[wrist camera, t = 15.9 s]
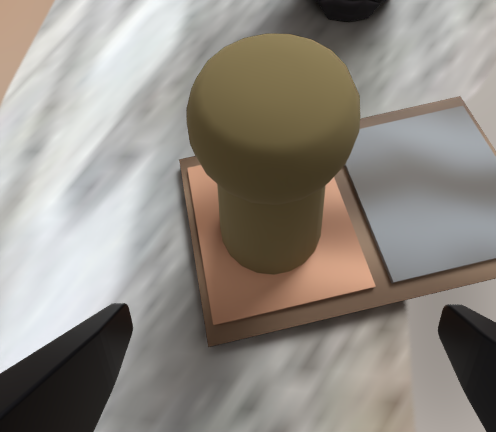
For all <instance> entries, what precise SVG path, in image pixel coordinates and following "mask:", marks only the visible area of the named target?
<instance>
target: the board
mask: <svg viewBox="0 0 496 432" xmlns="http://www.w3.org/2000/svg"><path fill="white" fill-rule="evenodd" d="M179 161H180V167H181V174H182V180H183V187H184V193H185V200H186V206H187V213H188V219H189V226H190V232H191V238H192V245H193V251H194V258H195V264H196V271H197V277H198V284H199V290H200V296H201V303H202V309H203V316H204V322H205V329H206V335H207V342H208V347H211V346H215V345H219V344H223V343H228V342H232V341H236V340H240V339H244V338H249V337H253V336H257V335H261V334H265V333H269V332H274V331H278V330H282V329H286V328H290V327H295V326H299V325H303V324H307V323H311V322H315V321H320V320H324V319H328V318H332V317H336V316H341V315H345V314H349V313H353V312H357V311H362V310H366V309H370V308H374V307H378V306H382V305H387V304H391V303H395V302H399V301H403V300H408V299H412V298H416V297H420V296H424V295H428V294H433V293H437V292H441V291H445V290H449V289H453V288H458V287H462V286H466V285H470V284H474V283H478V282H483V281H487V280H491V279H495V278H496V151H495V149H494V148H493V146H492V145H491V143H490V142H489V140H488V138H487V137H486V135H485V134H484V132H483V131H482V129H481V128H480V126H479V124H478V123H477V121H476V120H475V119H474V117H473V115H472V114H471V112H470V111H469V109H468V107H467V106H466V104H465V103H464V101H463V100H462V98H461V97H460V96H459V97H455V98H450V99H446V100H441V101H437V102H432V103H428V104H424V105H419V106H415V107H410V108H406V109H401V110H397V111H392V112H388V113H384V114H379V115H375V116H370V117H366V118H361V119H360V129H359V133H358V136H357V139H356V141H355V144H354V146H353V149H352V151H351V154H350V156H349V158H348V160H347V162H346V164H345V165H344V166H343V168H342V169H341V170H340V171H339V172H338V173H337V174H336V175H335V176H334V177H333V179H332V180H331V181H330V182H329V183H328V184H327V185H326V187H325V197H324V207H323V218H322V228H321V237H320V239H319V242H318V244H317V247H316V250H315V251H314V253H313V254H312V255H311V256H310V257H309V258H308V260H307V261H306V262H305V263H303V264H302V265H300V266H298V267H297V268H295V269H293V270H292V271H289V272H284V273H279V274H275V275H272V274H263V273H256V272H254V271H252V270H250V269H247V268H245V267H243V266H241V265H240V264H239V263H238V262H237V261H236V260H235V259H234V258H233V257H231V256H230V254H229V252H228V251H227V249H226V247H225V245H224V243H223V241H222V235H221V229H220V217H219V203H218V188H217V183H216V182H215V181H213V180H212V179H211V178H210V177H209V176H208V175H207V174H206V173H205V171H204V169H203V168H202V166H201V164H200V162H199V161H198V159H197V157H196V156H193V157H188V158H184V159H179Z"/></svg>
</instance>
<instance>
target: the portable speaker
mask: <svg viewBox="0 0 496 432" xmlns="http://www.w3.org/2000/svg"><path fill="white" fill-rule="evenodd" d="M316 1H317V3H318V4H319V5H320V7H321V8H322V10H323V11H324V13H325V15H326V16H327V18H328V19H333V20H341V21H354V20H360V19H365V18H368V17H369V16H370V15H371V14H372V13H373V12H374V11H375V10H376V8H377V7H378V6H379V5H381V4H382V3H383V2H384V1H386V0H316Z"/></svg>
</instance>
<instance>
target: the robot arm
mask: <svg viewBox="0 0 496 432" xmlns="http://www.w3.org/2000/svg"><path fill="white" fill-rule="evenodd" d="M132 331H133V324H132V320H131V315H130V311H129V307H128V305H127V304H125V303H113V304H111V305H109V306H107V307H106V308H104V309H103V310H101V311H99V312H98V313H96V314H95V315H93V316H91V317H90V318H88V319H87V320H85V321H84V322H82V323H80V324H79V325H77V326H76V327H74V328H72V329H71V330H69V331H68V332H66V333H64V334H63V335H61V336H60V337H58V338H56V339H55V340H53V341H52V342H50V343H48V344H47V345H45V346H44V347H42V348H40V349H39V350H37V351H36V352H34V353H32V354H31V355H29V356H28V357H26V358H24V359H23V360H21V361H20V362H18V363H16V364H15V365H13V366H12V367H10V368H8V369H7V370H5V371H4V372H2V373H0V432H94V430H95V427H96V425H97V423H98V421H99V419H100V416H101V414H102V412H103V410H104V408H105V405H106V403H107V401H108V399H109V396H110V394H111V392H112V390H113V387H114V385H115V382H116V380H117V377H118V374H119V371H120V368H121V365H122V362H123V359H124V356H125V353H126V350H127V347H128V344H129V341H130V338H131V335H132ZM438 334H439V337H440V340H441V342H442V344H443V346H444V349H445V351H446V353H447V355H448V358H449V360H450V362H451V364H452V366H453V369H454V371H455V373H456V375H457V377H458V380H459V382H460V384H461V386H462V388H463V390H464V392H465V394H466V396H467V398H468V400H469V402H470V403H471V405H472V407H473V409H474V410H475V412H476V414H477V416H478V417H479V419H480V421H481V423H482V425H483V426H484V428H485V430H486V432H496V322H493V321H492V320H490V319H488V318H486V317H484V316H482V315H480V314H478V313H476V312H475V311H473V310H471V309H469V308H467V307H465V306H463V305H445V306H444V308H443V310H442V314H441V318H440V322H439V326H438Z"/></svg>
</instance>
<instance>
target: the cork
mask: <svg viewBox="0 0 496 432" xmlns="http://www.w3.org/2000/svg"><path fill="white" fill-rule="evenodd" d="M187 127H188V133H189V140H190V145H191V147H192V149H193V151H194V154H195V156H196V157H197V159H198V161H199V162H200V164H201V166H202V168H203V169H204V171H205V173H206V174H207V175H208V176H209V177H210V178H211V179H212V180H213V181H215V182H216V183H217V188H218V203H219V217H220V229H221V235H222V241H223V243H224V245H225V247H226V249H227V251H228V252H229V254H230V256H231V257H233V258H234V259H235V260H236V261H237V262H238V263H239V264H240V265H241V266H243V267H245V268H247V269H250V270H252V271H254V272H256V273H263V274H272V275H275V274H279V273H284V272H289V271H292V270H293V269H295V268H297V267H298V266H300V265H302V264H303V263H305V262H306V261H307V260H308V258H309V257H310V256H311V255H312V254H313V253H314V251H315V250H316V247H317V244H318V242H319V239H320V237H321V228H322V218H323V207H324V197H325V187H326V185H327V184H328V183H329V182H330V181H331V180H332V179H333V177H334V176H335V175H336V174H337V173H338V172H339V171H340V170H341V169H342V168H343V166H344V165H345V164H346V162H347V160H348V158H349V156H350V154H351V151H352V149H353V146H354V144H355V141H356V139H357V136H358V133H359V129H360V95H359V93H358V91H357V89H356V87H355V84H354V82H353V80H352V78H351V75H350V73H349V71H348V69H347V67H346V65H345V64H344V63H343V62H342V61H341V60H340V59H339V58H338V57H337V56H336V55H335V53H334V52H333V51H332V50H330V49H328V48H326V47H325V46H323V45H321V44H319V43H317V42H315V41H314V40H312V39H308V38H304V37H300V36H296V35H292V34H262V35H257V36H252V37H247V38H243V39H241V40H239V41H237V42H235V43H233V44H230V45H228V46H226V47H224V48H223V49H221V50H220V51H219V52H218V53H217V54H215V55H214V56H213V57H212V58H210V59H209V60H208V61H207V63H206V64H205V66H204V67H203V69H202V70H201V72H200V73H199V75H198V76H197V78H196V80H195V82H194V84H193V86H192V89H191V93H190V97H189V101H188V105H187Z"/></svg>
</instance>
